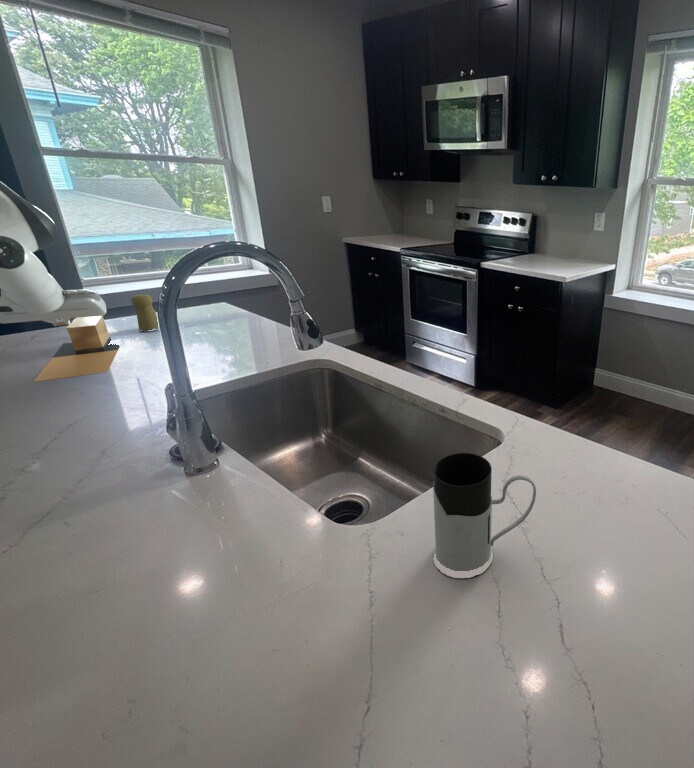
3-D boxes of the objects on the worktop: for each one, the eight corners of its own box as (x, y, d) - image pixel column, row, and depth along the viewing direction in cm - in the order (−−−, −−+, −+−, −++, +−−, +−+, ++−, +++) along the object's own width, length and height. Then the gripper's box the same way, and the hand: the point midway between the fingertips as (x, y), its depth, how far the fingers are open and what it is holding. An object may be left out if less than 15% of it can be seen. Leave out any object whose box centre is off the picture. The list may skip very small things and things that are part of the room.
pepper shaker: (134, 331, 145) (122, 296, 141) (150, 325, 151) (140, 291, 146) (151, 333, 145) (140, 298, 140) (167, 327, 150) (157, 293, 145)
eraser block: (76, 354, 127) (66, 328, 124) (84, 342, 135) (75, 317, 132) (104, 351, 130) (95, 325, 127) (111, 339, 138) (102, 315, 134)
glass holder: (435, 533, 71) (432, 450, 64) (528, 532, 72) (534, 450, 65) (429, 579, 63) (425, 490, 56) (534, 578, 64) (541, 489, 57)
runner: (33, 382, 111) (33, 381, 111) (63, 344, 134) (63, 343, 134) (107, 372, 118) (107, 371, 118) (124, 337, 140) (124, 336, 140)
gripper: (94, 278, 111) (114, 308, 123) (-27, 284, 101) (6, 316, 113) (97, 301, 109) (116, 329, 121) (-26, 309, 100) (8, 339, 111)
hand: (62, 323), depth 117 cm, fingers closed
